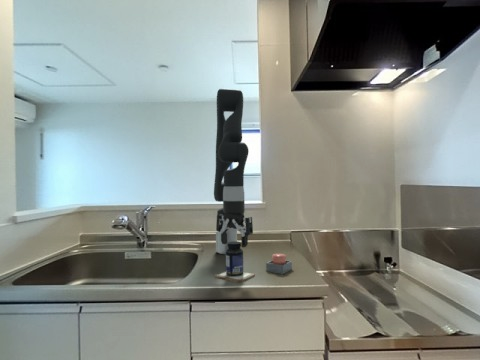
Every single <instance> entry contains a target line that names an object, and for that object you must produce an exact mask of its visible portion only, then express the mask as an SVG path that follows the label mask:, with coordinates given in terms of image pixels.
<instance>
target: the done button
mask: <svg viewBox="0 0 480 360" xmlns="http://www.w3.org/2000/svg"><path fill="white" fill-rule="evenodd" d="M271 255H272V257H271V258H272V259H271V260H272V263H273V264H279V265H284V264H286V260H287V259H286V257H287V255H286V254H284V253H273V254H271Z"/></svg>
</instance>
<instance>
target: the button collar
mask: <svg viewBox="0 0 480 360" xmlns="http://www.w3.org/2000/svg"><path fill="white" fill-rule="evenodd" d="M292 262H293V261H292V260H288V259H286V264H284V265H279V264H273V263H272V259H271V260H269V261H267V262H266V263H265V269H266V272H270V273H276V274H282V275H284V274H285V273H287V272H289V271H292V270H293V269H292V268H293V266H292V265H293V263H292Z"/></svg>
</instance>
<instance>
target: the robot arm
mask: <svg viewBox="0 0 480 360" xmlns="http://www.w3.org/2000/svg"><path fill="white" fill-rule="evenodd" d="M216 93H217V94H216V138H215V139H216V140H215V141H216V142H215V173H214V174H215V175H214V185H213V186H214V187H213V198H214V200H215V201H216V202H220V203H221V202H222V208H219V209H218V210H217V212H216V232H215V252H216V253H218V254H221V255H226V250H227V249H228V242H233V241H237V242H238V232H239V233H240V234H241V237H240V238H241V241H240V242H241V248H246V247H247V246H248V243H249V240H248V239H249V236H250V235H253V234H254V229H253V228H254V227H253V217H252V216H245V215H244V214H245V210H246V209H245V205H246V204H245V186H244V185H245V183H244V182H245V181H244V178H245V177H244V173H245V168H246V162H247V159H248V156H249V147H248V145H247V144H246V143H245V142H242V140H243V131H242V130H243V127H242V121H243V114H244V113H243V111H244V94H243V91H242V90H240V89H237V88H236V89H233V88H219V89H218V90H217V92H216ZM226 112H228V113H230V112H231V114H230V115H229V116H228V117H227V118H226V116H225V113H226ZM234 163H238V164H237V166H236V167H234V168H230V167H231V166H232V164H234ZM229 168H230V169H229Z"/></svg>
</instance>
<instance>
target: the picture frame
mask: <svg viewBox="0 0 480 360" xmlns="http://www.w3.org/2000/svg"><path fill="white" fill-rule="evenodd" d="M255 276H256V273H252V272H247V271H243V274H242V275H240V276H229V275H227V274H226V270H224V271H222V272H220V273H217V274H215V275H214V278H217V279H221V280H226V281H230V282H234V283H238V284H239V283H240V284H241V283H243V282H246V281H248V280H250V279H251V278H254V277H255Z"/></svg>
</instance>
